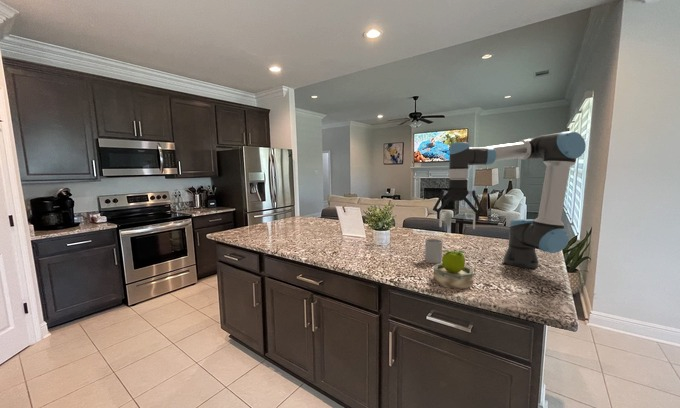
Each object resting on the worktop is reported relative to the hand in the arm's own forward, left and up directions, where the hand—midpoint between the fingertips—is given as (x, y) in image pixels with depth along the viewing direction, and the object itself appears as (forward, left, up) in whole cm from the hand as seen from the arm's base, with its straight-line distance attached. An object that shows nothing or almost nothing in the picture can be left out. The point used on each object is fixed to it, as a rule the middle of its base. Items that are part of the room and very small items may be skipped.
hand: (456, 227), depth 125 cm
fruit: (0, +5, -19) cm, 20 cm away
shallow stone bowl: (0, +5, -23) cm, 23 cm away
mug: (+11, -22, -23) cm, 34 cm away
